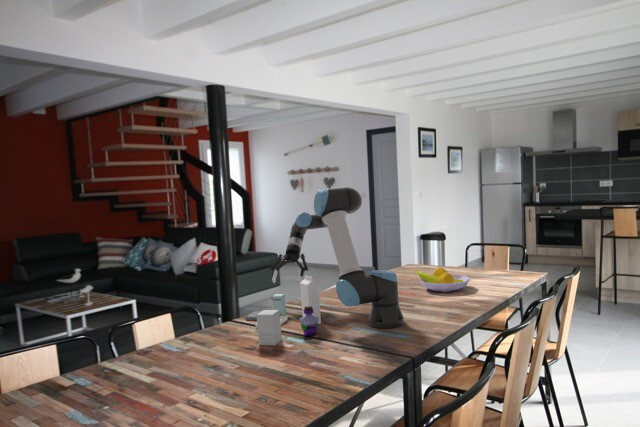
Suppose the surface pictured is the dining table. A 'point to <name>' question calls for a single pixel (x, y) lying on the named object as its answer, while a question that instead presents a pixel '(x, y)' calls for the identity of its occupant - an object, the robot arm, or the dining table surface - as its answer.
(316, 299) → the milk
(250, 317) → the coaster
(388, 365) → the dining table surface
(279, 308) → the light blue tall block
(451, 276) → the fruit bowl
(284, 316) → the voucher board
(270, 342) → the supplement box
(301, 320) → the potion bottle
